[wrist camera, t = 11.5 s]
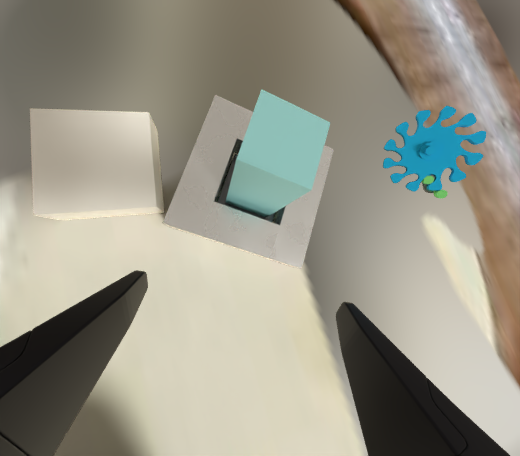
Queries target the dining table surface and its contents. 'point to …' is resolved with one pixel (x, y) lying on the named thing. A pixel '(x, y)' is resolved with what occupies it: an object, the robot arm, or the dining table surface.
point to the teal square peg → (276, 156)
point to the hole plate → (232, 217)
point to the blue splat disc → (433, 151)
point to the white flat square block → (94, 164)
